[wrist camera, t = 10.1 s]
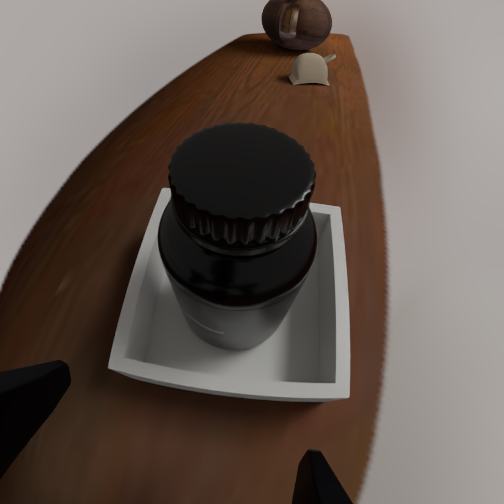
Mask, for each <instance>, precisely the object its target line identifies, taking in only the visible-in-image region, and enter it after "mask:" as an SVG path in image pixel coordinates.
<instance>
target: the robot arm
mask: <svg viewBox="0 0 504 504" xmlns="http://www.w3.org/2000/svg"><path fill="white" fill-rule="evenodd" d="M70 384H71V376H70V370H69V366H68V364H66V363H65V362H63V361H61V360H56V361H52V362H47V363H43V364H38V365H33V366H28V367H23V368H18V369H13V370H7V371H2V372H0V479H1V477H2V476H3V474H4V473H5V472H6V470H7V469H8V468H9V466H10V465H11V464H12V462H13V461H14V460H15V458H16V457H17V456H18V455H19V453H20V452H21V451H22V449H23V448H24V447H25V445H26V444H27V443H28V442H29V440H30V439H31V438H32V437H33V435H34V434H35V433H36V432H37V430H38V429H39V428H40V427H41V425H42V424H43V423H44V422H45V420H46V419H47V418H48V417H49V416H50V414H51V413H52V412H53V410H54V409H55V407H56V406H57V404H58V403H59V401H60V400H61V398H62V397H63V395H64V393H65V392H66V390H67V389H68V387H69V386H70ZM292 504H353V503H352V501H351V500H350V498H349V496H348V495H347V493H346V492H345V490H344V489H343V487H342V485H341V484H340V482H339V480H338V479H337V477H336V476H335V474H334V472H333V471H332V469H331V467H330V466H329V464H328V462H327V461H326V459H325V457H324V456H323V454H322V452H321V451H319V450H314V449H309V450H307V452H306V453H305V455H304V456H303V458H302V459H301V461H300V463H299V466H298V471H297V477H296V483H295V488H294V493H293V499H292Z"/></svg>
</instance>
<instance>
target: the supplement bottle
mask: <svg viewBox="0 0 504 504" xmlns="http://www.w3.org/2000/svg"><path fill="white" fill-rule="evenodd" d="M315 178H316V172H315V170H314V163H313V161H312V160H311V159H310V154H308V153H307V152H306V151H305V149H304V147H303V146H302V145H300V144H298V143H297V141H296V140H295V139H293V138H290V137H289V136H288V135H287V134H285V133H282V132H279V131H278V130H276V129H273V128H268V127H266V126H264V125H256V124H253V123H240V122H239V123H226V124H222V125H214V126H212V127H210V128H204V129H202V130H201V131H199V132H196V133H193V134H192V135H191V137H189V138H186V139H185V140H184V141H183V143H182V144H180V145H179V146H177V150H176V151H175V152H174V153H173V154H172V160H171V161H170V163H169V174H168V179H169V185H170V190H171V199H170V201H169V202H168V204H167V206H166V207H165V209H164V211H163V214H162V216H161V219H160V222H159V227H158V237H157V239H158V249H159V254H160V257H161V261H162V264H163V267H164V269H165V272H166V274H167V277H168V279H169V282H170V284H171V287H172V289H173V292H174V294H175V296H176V299H177V301H178V304H179V306H180V308H181V311H182V313H183V315H184V317H185V319H186V321H187V323H188V325H189V326H190V328H191V329H192V330H193V332H194V333H195V334H196V335H197V336H198V337H199V338H201V339H202V340H203V341H205V342H206V343H208V344H210V345H212V346H214V347H217V348H220V349H225V350H244V349H249V348H252V347H255V346H257V345H259V344H261V343H263V342H264V341H266V340H267V339H268V338H269V337H271V336H272V335H273V334H274V333H275V331H276V330H277V329H278V327H279V326H280V324H281V323H282V321H283V320H284V318H285V316H286V314H287V313H288V311H289V309H290V307H291V305H292V304H293V302H294V300H295V298H296V296H297V295H298V293H299V291H300V289H301V287H302V286H303V284H304V282H305V280H306V278H307V276H308V274H309V272H310V270H311V268H312V265H313V263H314V260H315V257H316V254H317V248H318V232H317V227H316V223H315V220H314V217H313V214H312V212H311V210H310V208H309V205H310V200H311V197H312V194H313V191H314V188H315Z"/></svg>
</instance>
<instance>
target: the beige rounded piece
mask: <svg viewBox="0 0 504 504" xmlns="http://www.w3.org/2000/svg"><path fill="white" fill-rule="evenodd" d="M335 57H336V55H334V54H333V55H329V56H327V57H325V58H322V57H321V56H320V55H318V54H315V53H304V54H301V55H298V57H297V58H295V60H294V62H293V64H292V69H291V75H289V79H290V80H291V82H292V83H293V85H296V84H302V83H321V84H325V85H328V86H329V83H328V81H327V73H328V71H327V65H326V63H328V62H330V61H331V60H333V59H334V58H335Z"/></svg>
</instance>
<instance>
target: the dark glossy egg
mask: <svg viewBox="0 0 504 504" xmlns="http://www.w3.org/2000/svg"><path fill="white" fill-rule="evenodd" d="M262 25H263V28H264V30H265V32H266V34H267V35H268V37H269V38H270V39H271V40H272V41H274V42H275V43H276V44H278V45H280V46H282V47H284V48H287V49H291V50H307V49H311V48H314V47H316V46H318V45H320V44H321V43H322V42H323V41H324V40H325V39H326V38H327V37H328V35H329V33H330V31H331V27H332V18H331V15H330V12H329V10H328V8H327V7H326V5H325V4H324V3H323V2H322V1H321V0H270V1H269V2H268V3H267V4H266V6H265V7H264V9H263V13H262Z"/></svg>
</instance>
